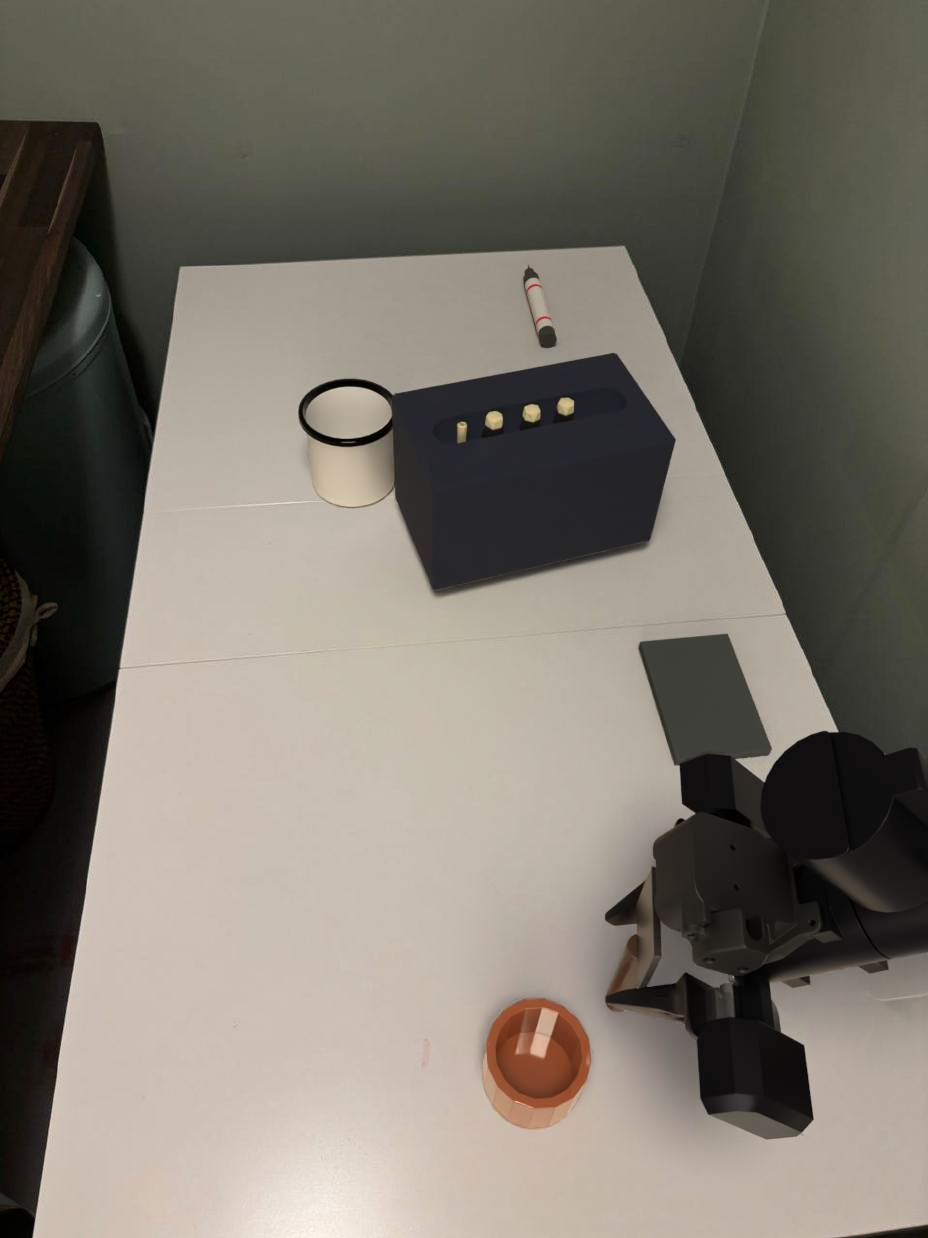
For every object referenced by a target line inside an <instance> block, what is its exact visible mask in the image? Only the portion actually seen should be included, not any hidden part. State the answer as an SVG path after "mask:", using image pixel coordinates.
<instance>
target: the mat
mask: <svg viewBox="0 0 928 1238" xmlns="http://www.w3.org/2000/svg"><path fill="white" fill-rule="evenodd" d="M638 645H639V646H638V651H639V655H640V657H641V661H642V665H643V667H644V670H645V674H646V677H647V681H648V684H649V687H650V690H651V693H652V697H653V699H654V704H655V706H656V709H657V714H658V717H659V719H660V723H661V726H662V730H663V732H664V735H665V739H666V742H667V745H668V746H667V747H668V749H669V751H670V755H671V758H672V761H673V764H674V766H679V764H680V763H681V762H682V761H683V760H684V759H687V758H690V757H693V756H695V755H698V754H701V753H704V752H706V751H717V752H724V753H726V754H728V755H730V756H731V757H733V758H734V759H735V760H736V759H737V760H739V759H746V758H747V759H748V758H756V757H765V756H770V754H771V752H772V750H773V749H772V746H771V742H770V740H769V737H768V735H767V733H766V729H765V726H764V724H763V722H762V719H761V716H760V714H759V712H758V711H759V710H758V708H757V706H756V704H755V701H754V699H753V696H752V693H751V690H750V688H749V685H748V683H747V679H746V677H745V675H744V672H743V670H742V666H741V664H740V662H739V659H738V657H737V654H736V652H735V649H734V646H733V644H732V641H731V638H730V636H729V633H719V634H718V633H717V634H708V635H699V636H698V635H697V636H687V637H675V638H664V639H654V640H643V641H640V642H639V644H638Z"/></svg>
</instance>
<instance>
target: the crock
mask: <svg viewBox="0 0 928 1238" xmlns="http://www.w3.org/2000/svg"><path fill="white" fill-rule="evenodd" d="M591 1065H592V1052H591V1045H590V1039H589V1036H588V1034H587V1032H586V1031H585V1029H584V1027H583V1024H582V1023H581V1021H580V1019H579V1018H578V1017H576V1015H574V1013H572V1012H571V1011H570V1010H568V1009H567V1008H566V1007H565V1006H564V1005H562V1004H561V1003H558V1002H554V1001H552V1000H548V999H546V998H542V997H541V998H526V999H525V998H524V999H521V1000H519V1001H517V1002H515V1003H513V1004H511V1005H509V1006H507V1007H506V1008H505V1009H503V1010H502V1011H501V1013H500V1014H499V1015H498V1016H497V1018H496V1019H495V1020H494V1021H493V1022H492V1024H491V1027H490V1029H489V1033H488V1036H487V1039H486V1043H485V1048H484V1055H483V1061H482V1082H483V1088H484V1091H485V1095H486V1097H487V1100H488V1101H489V1103H490V1105H491V1106H492V1108H493V1109H494V1110H495V1112H496V1113H497V1114H498V1115H499V1116H500V1117H501V1118H502V1119H504V1120H505V1121H506V1122H508V1123H510V1124H512V1125H514V1126H516V1127H518V1128H521V1129H526V1130H541V1129H546V1128H550V1127H552V1126H554V1125H556V1124H558V1123H559V1122H561V1121H562V1120H563V1119H564V1118H566V1117H567V1116H568V1114H569V1113H570V1112H571V1111H572V1109H573V1108H574V1106H575V1105H576V1104H577V1102H578V1100H579V1098H580V1095H581V1094H582V1092H583V1090H584V1087H585V1085H586V1083H587V1080H588V1077H589V1072H590V1070H591V1069H590V1068H591Z"/></svg>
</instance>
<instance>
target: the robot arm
mask: <svg viewBox="0 0 928 1238" xmlns="http://www.w3.org/2000/svg"><path fill="white" fill-rule="evenodd" d="M678 766H679V778H680V779H679V781H680V794H681V797H680V799H681V805H683V806H684V807H686V808H687V809H688V810H690V811H691V812H693V813H694V814H692V815H691V816H689V817H688V818H686V819H684V818H683V817H680V818H678V819H677V820H676V821H675V822H674V825H673V827H672V828H670V829H669V830H667V831H666V832H664V833H663V834H661V835H660V836H658V837H657V838H656V839H654V841H653V844H652V858H653V859H654V862H655V867H656V885H657V892H656V894H655V909H656V912H657V915H658V917H659V919H660V920H661V924H663V925H664V926H665V927H666V928H668V929H669V930H672V931H675V932H677V933H680V936H681V938H682V939H684V940H687V941H688V942H689V944H690V948H691V960H692V963H693V964H694V966H696V967H698V968H703V969H707V970H709V971H713V972H716V973H721V974H723V975H727V980H728V982H726V983H720V984H719V987H718V986H715V987H714V986H713V985H711V984H709V983H707V982H706V981H704V980H701V979H700V978H699V977H696V976H695V975H692V974H691V973H689V972H687V971H686V972H683V973H682V975H681V976H680V977H679V978H678V979H677V981H676V982H673V983H664V984H657V985H648V986H647V987H644V988H640V989H639V988H638V987H637V988H633V989H625V990H621V991H618V992H615V993H612V994H609V995H606V994H605V995H606V996H605V995H604V1003H605V1002H606V1003H605V1005H606V1004H608V1005H610V1006H612V1007H615V1008H618V1009H622V1010H625V1011H627V1012H629V1013H630V1012H631V1013H634V1014H640V1015H643V1016H648V1017H651V1018H657V1019H659V1020H660V1019H661V1020H664V1021H668V1022H672V1023H677V1024H680V1025H684V1028H685V1031H686V1033H687V1034H688V1036H689V1037H690V1038H691V1039H692V1040H693V1041H695V1042H696V1051H697V1052H696V1053H697V1069H698V1085H699V1099H700V1101H701V1103H702V1105H703V1107H704V1109H705V1112H706V1113H707V1115H708V1116H710V1117H712V1118H715V1119H718V1120H720V1121H722V1122H724V1123H726V1124H729V1125H731V1126H733V1127H736V1128H738V1129H741V1130H743V1131H744V1132H745V1131H746V1132H748V1133H750V1134H753V1135H755V1136H757V1137H760V1138H762V1139H764V1140H766V1141H767V1140H776V1139H777V1140H778V1139H786V1138H787V1139H789V1138H797V1137H798V1136H800V1135H801V1134H802V1133H803V1132H804V1131H805V1130H806V1129H807V1128H808V1127H809V1126H810V1124H812V1122H813V1121H814V1120H815V1118H814V1110H813V1103H812V1102H813V1101H812V1094H811V1085H810V1078H809V1072H808V1071H809V1070H808V1064H807V1058H806V1057H807V1056H806V1055H807V1054H806V1047H805V1044H803V1043H801V1042H800V1041H798V1040H796V1039H794V1038H792V1037H791V1036H789V1035H787V1034H785V1033H783V1032H782V1028H781V1019H780V1012H779V1010H778V1007H777V1004H776V1003H775V1002H774V1001H773V999H772V993H771V991H772V990H771V984H775V983H779V982H781V983H783V984H785V985H786V986H788V987H789V988H791V989H796V988H801V987H806V986H811V985H812V984H811V977H810V976H814V975H820V974H825V973H829V972H835V971H839V970H844V969H850V968H856V967H858V968H860V969H861V970H862V971H864V972H865V973H867V974H869V975H870V974H874V973H880V972H885V971H889V970H890V969H889V963H888V961H891V960H894V959H895V960H896V959H901V958H906V957H910V956H916V955H921V954H926V953H928V757H927V756H926V755H925V754H924V753H923V752H922V751H921V750H920V749H918V748H917V747H911V746H909V747H906V748H903V749H900V750H896V751H894V752H890V753H887V754H886V753H885V752H884V751H883V750H882V749H881V748H880V747H879V746H878V745H876V743H874V742H873V741H872V740H870V739H868V738H866V737H864V736H862V735H860V734H856V733H850V732H847V731H828V730H821V731H818V732H814V733H811V734H809V735H807V736H804V737H803V738H801V739H798V740H797V741H795V742H794V743H793V744H792V745H790V746H789V747H787V749H785V750H784V751H783V752H782V754H781V755H780V756H779V757H778V758H777V759H776V760H775V761H774V762H773V764H772V766H771V768H770V770H769V772H768V773H767V775H766V777H765V780H764V781H763V780H762V779H761V778H760V777H759V776H757V775H756V774H754V773H753V772H752V771H751V770H749V769H748V768H747V767H746V766H744V765H743V764H742V763H740V762H739V760H738V759H737V760H736V759H734V758H733V757H731V756H730V755H728V754H726V753H724V752H717V751H706V752H704V753H701V754H698V755H695V756H693V757H690V758H687V759H684V760H683V761H682V762H681V763H680V764H679V765H678ZM645 882H646V879H644V880H643V882H641V883H640V884H638V886H636V887H635V888H634V889H633V890H631V892H629V893H628V894H627V895H625V896H623V898H622V899H620V900H619V901H618V902H617V903H616V904H614V905H612V907H611V908H609V909H608V910H607V911H606V912H605V913H604V921H605V922H607V923H608V924H610V925H612V926H615V927H619V926H631V925H637V919H636V905H637V902H638V899H639V897H640V894H641V892H642V889H643V887H644V884H645Z"/></svg>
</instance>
